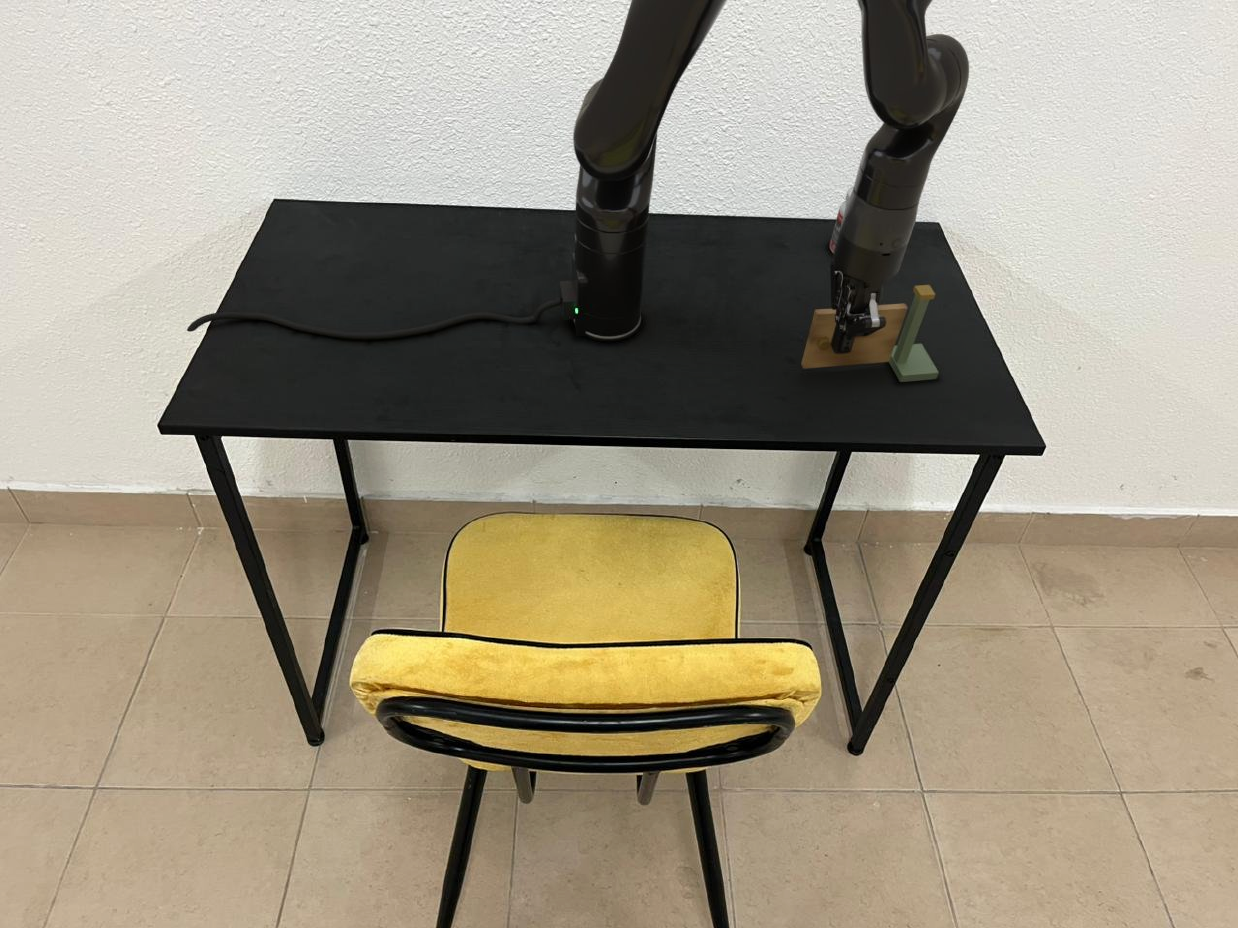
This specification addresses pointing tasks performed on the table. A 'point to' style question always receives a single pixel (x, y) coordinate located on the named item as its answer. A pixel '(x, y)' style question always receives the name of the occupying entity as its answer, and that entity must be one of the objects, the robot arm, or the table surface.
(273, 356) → the table surface
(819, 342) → the door
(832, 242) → the pill bottle
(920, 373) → the door frame
